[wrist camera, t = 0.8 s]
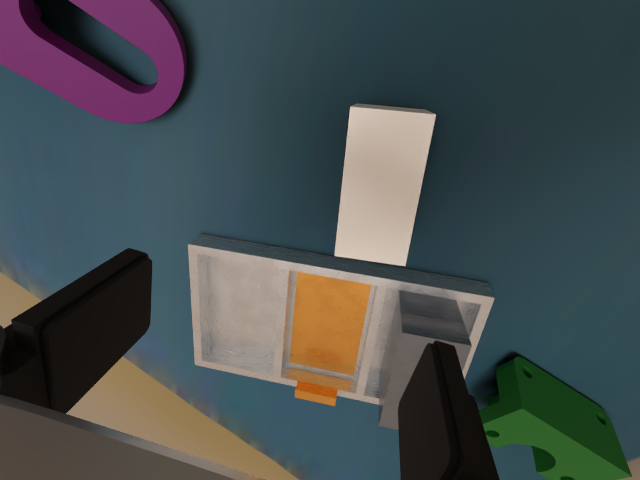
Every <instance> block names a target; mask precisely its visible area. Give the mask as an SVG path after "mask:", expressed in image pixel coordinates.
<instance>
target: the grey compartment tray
mask: <svg viewBox="0 0 640 480" xmlns="http://www.w3.org/2000/svg"><path fill="white" fill-rule="evenodd" d="M188 252H189V270H190V287H191V304H192V321H193V339H194V356H195V365H198V366H203V367H207V368H212V369H217V370H221V371H226V372H230V373H235V374H240V375H244V376H249V377H254V378H258V379H263V380H267V381H272V382H277V383H281V384H286V385H291V386H295V387H296V389H295V397H296V398H300V399H305V400H309V401H314V402H319V403H323V404H328V405H332V406H335V402H336V396H341V397H346V398H351V399H355V400H360V401H365V402H369V403H374V404H378V405H379V426H383V427H387V428H392V429H396V430H399V428H398V406H399V402H400V399H401V397H402V395H403V393H404V391H405V389H406V387H407V385H408V382H409V380H410V378H411V376H412V374H413V372H414V370H415V368H416V366H417V364H418V361H419V359H420V357H421V355H422V353H423V351H424V349H425V347H426V345H427V344H428V343H431V344H433V342H434V341H436V340H437V341H441V342H444V343H447V344H451V345H453V346H455V348H456V352H457V355H458V359H459V362H460V366H461V369H462V373H463V376H464V379H465V377H466V374H467V371H468V368H469V366H470V363H471V360H472V358H473V355H474V352H475V350H476V347H477V344H478V342H479V339H480V336H481V334H482V331H483V328H484V325H485V323H486V320H487V317H488V315H489V312H490V309H491V307H492V304H493V301H494V299H495V297H494V296H493V294H492V292H491V290H490V288H489V286H488V284H487V282H483V281H477V280H471V279H465V278H459V277H453V276H448V275H442V274H436V273H430V272H424V271H418V270H412V269H407V268H401V267H395V266H389V265H383V264H377V263H372V262H366V261H360V260H354V259H348V258H342V257H336V256H331V255H325V254H319V253H313V252H307V251H301V250H296V249H290V248H284V247H278V246H272V245H266V244H260V243H255V242H249V241H243V240H237V239H231V238H225V237H220V236H214V235H208V234H200V235H199V236H198V237H196V238H195V239H194V240H193V241H191V242H190V243H189V244H188Z"/></svg>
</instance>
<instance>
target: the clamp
mask: <svg viewBox="0 0 640 480" xmlns="http://www.w3.org/2000/svg"><path fill="white" fill-rule="evenodd" d="M496 376H497V384H498V392H499V394H497V395H495V396H493V397H491V398H490V399H488V404H489V406H488V407H485V408H483V409H481V410H479V413H480V417H481V420H482V423H483V427H484V430H485V433H486V437H487V440H488V443H489V444H491V445H493V446H494V447H496V448H497V449H498V448H499V447H501V446H503V445H507V444H526V445H531V446H532V449H533V454H534V460H535V465H536V471H537V473H539V474H540V475H542V476H544V477H545V478H547V479H549V480H617V479H621V478H627V477H632V475H631V472H630V470H629V467H628V464H627V462H626V459H625V456H624V454H623V451H622V449H621V446H620V443H619V441H618V438H617V435H616V433H615V430H614V427H613V425H612V423H611V421H610V419H609V417H608V416H607V415H606V413H605V412H604V411H603V410H602V409H601V408H600V407H599V406H598V405H596V404H595V403H593V402H592V401H590V400H589V399H587V398H585V397H584V396H582V395H581V394H579V393H577V392H576V391H574V390H573V389H571V388H570V387H568V386H566V385H565V384H563V383H562V382H560V381H559V380H557V379H555V378H554V377H552V376H551V375H549V374H547V373H546V372H544V371H543V370H541V369H540V368H538V367H536V366H535V365H533V364H532V363H530V362H529V361H527V360H525V359H524V358H522V357H516V358H514V359H512V360H510V361H508V362H506V363H504V364H502V365H500V366H498V367H497V369H496Z"/></svg>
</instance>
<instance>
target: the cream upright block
mask: <svg viewBox="0 0 640 480" xmlns="http://www.w3.org/2000/svg"><path fill="white" fill-rule="evenodd" d="M435 117H436V114H434V113H432V112H429V111H427V110H425V109H414V108H403V107H392V106H381V105H370V104H359V103H357V104H355V105H353V106H351V107H350V114H349V123H348V133H347V142H346V151H345V161H344V170H343V180H342V189H341V198H340V208H339V217H338V227H337V236H336V245H335V255H334V256H338V257H345V258H352V259H359V260H366V261H373V262H379V263H386V264H393V265H400V266H405V265H406V260H407V255H408V250H409V245H410V240H411V235H412V231H413V226H414V221H415V216H416V211H417V206H418V201H419V196H420V191H421V186H422V181H423V176H424V171H425V166H426V161H427V157H428V152H429V147H430V142H431V137H432V132H433V127H434V122H435Z"/></svg>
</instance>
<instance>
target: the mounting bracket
mask: <svg viewBox="0 0 640 480" xmlns="http://www.w3.org/2000/svg"><path fill="white" fill-rule="evenodd" d="M69 1H70V2H72V3H73V4H75V5H76V6H78V7H79V8H81V9H82V10H84V11H85V12H87V13H88V14H90V15H91V16H92V17H94V18H95V19H97V20H98V21H100V22H101V23H103V24H104V25H106V26H107V27H109V28H110V29H112V30H113V31H114V32H116V33H117V34H119V35H120V36H122V37H123V38H125V39H126V40H128V41H129V42H131V43H132V44H134V45H135V46H137V47H138V48H139V49H141V50H142V51H144V52H145V53H146V54H148V55H149V56H150V57H151V59H152V60H153V61H154V63H155V65H156V67H157V70H158V82H157V83H155V84H153V85H149V86H142V85H138V84H136V83H134V82H132V81H130V80H129V79H127V78H125V77H124V76H122V75H121V74H119V73H117V72H116V71H114V70H113V69H111V68H109V67H108V66H106V65H105V64H103V63H101V62H100V61H98V60H97V59H95V58H93V57H92V56H90V55H89V54H87V53H85V52H84V51H82V50H81V49H79V48H77V47H76V46H74V45H73V44H71V43H69V42H68V41H66V40H65V39H63V38H61V37H60V36H58V35H57V34H55V33H53V32H52V31H51V30H49V29H48V28H47V27H46V26H45V25H44V24H43V22H42V21H41V20H40V17H41V10H40V8H39V6H38V5H37V4H36V3H35V2H34V0H0V64H2V65H3V66H5V67H7V68H9V69H11V70H13V71H14V72H16V73H18V74H20V75H22V76H24V77H25V78H27V79H29V80H31V81H33V82H35V83H36V84H38V85H40V86H42V87H44V88H46V89H47V90H49V91H51V92H53V93H55V94H57V95H58V96H60V97H62V98H64V99H66V100H67V101H69V102H71V103H73V104H75V105H77V106H78V107H80V108H82V109H84V110H86V111H88V112H90V113H92V114H94V115H96V116H98V117H101V118H104V119H107V120H110V121H115V122H121V123H140V122H145V121H149V120H152V119H154V118H156V117H158V116H160V115H162V114H163V113H165V112H166V111H167V110H168V109H169V108H170V107H171V106H172V105H173V104H174V102H175V101H176V99H177V97H178V96H179V93H180V91H181V88H182V86H183V83H184V80H185V77H186V71H187V54H186V49H185V45H184V41H183V38H182V35H181V33H180V30H179V28H178V26H177V24H176V23H175V21H174V19H173V18H172V16H171V15H170V13H169V12H168V10H167V9H166V8H165V7H164V5H163V4H162V3H161V2H160V1H159V0H69Z"/></svg>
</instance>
